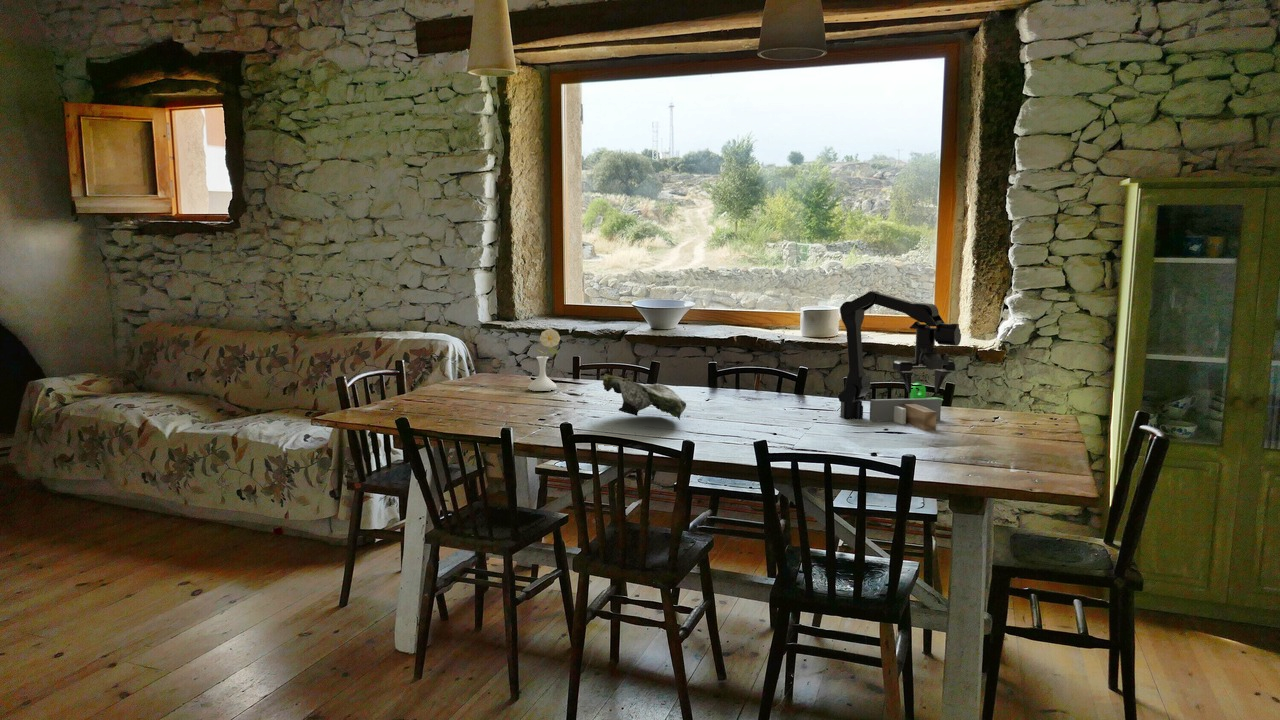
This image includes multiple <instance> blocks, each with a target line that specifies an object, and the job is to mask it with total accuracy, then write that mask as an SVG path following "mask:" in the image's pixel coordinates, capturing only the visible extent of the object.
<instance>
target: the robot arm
mask: <svg viewBox="0 0 1280 720" xmlns="http://www.w3.org/2000/svg"><path fill="white" fill-rule="evenodd" d="M875 305H876V306H880V307H883V308H886V309H889V310H893V311H896V312H898V313H899V312H900V313H902V314H905V315H907V316H908V317H910V318H911V319H913V320H915V321H914V323H912V324H911V325H910V326H909V329H911V330H916V331H915V345H914V346H913V350H914V351H915V354H914V358H913V359H912V362H911V361H908V360H894V362H893V364H892V370H894V371H896V373H899V375H900V376H901V379H902V381H903V383H904V385H905V388H906V391H907V393H908V394H910V393H911V386H912V376H913V375H914V374H913V373H914V372H913V371H912V370H913V369H915V370H916V369H917V370H919V369H920V370H921V369H928V370H931V371H933V370H934V392H935V393H937V394H938V393H939V391H940V388H941V386H942V384H943V382H944V379H945V378H946V376H947V375H949V374H952V372H954V371H956V368H957V365H956V363H955V361H952V360H950V355H949V354H948V353H940V354H938V348H937V347H935V346H936V345H935V344H936V343H937V344H938V345H940V346H952V347H955V346H957V347H959V345H960V343H961V340H962V333H961V329H960V324H959V323H945V321H944V320H943V318H942V316H940V313H939V308H938V307H937V305H935V304H933V303H929V302H927V303H926V302H914V301H909V300H905V299H902V298H899V297H895V296H893V295H889V294H886V293H882V292H880V291H878V290H870V291H868V292H866V293H865V294H863V295H860V296H858V297H857V298H855V299H853V300H849V301H844V302H843V303H842V305H841V306H839V307H840V308H839V312H840V317H841V321H842V323H843V325H844V327H845V330H846V344H847V359H848V361H847V362H848V373H847V376H846V378H845V387H844V389H843V390H842V391H841V392H840V393H839V394H838V395H837V398H838V401H839V402H840V413H839V415H838V417H839V418H841V419H843V420H864V405H863V401H864V398H865V397H866V395H868V394H869V393H870V388H872V384H871V374H868V375H867V374H866V371H865V370H864V360H863V358H864V357H863V344H862V343H863V341H862V325H863V322H864V319H865V312H866V311H868V310H870V308H873V306H875Z"/></svg>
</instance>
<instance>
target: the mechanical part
mask: <svg viewBox="0 0 1280 720" xmlns="http://www.w3.org/2000/svg"><path fill="white" fill-rule="evenodd" d="M912 385H922V386H912ZM912 385H911V388H913V389H911V393H909V394H910V395H909V399H920V398H927V397H926V391H927V387H926V385H924V383H921V382H914V383H913V384H912ZM923 385H924V386H923ZM916 388H918V389H916ZM931 398H937V397H935V396H932V397H931ZM938 398H939V399H941V402H943V401H944V399H943V398H940V397H938Z"/></svg>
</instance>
